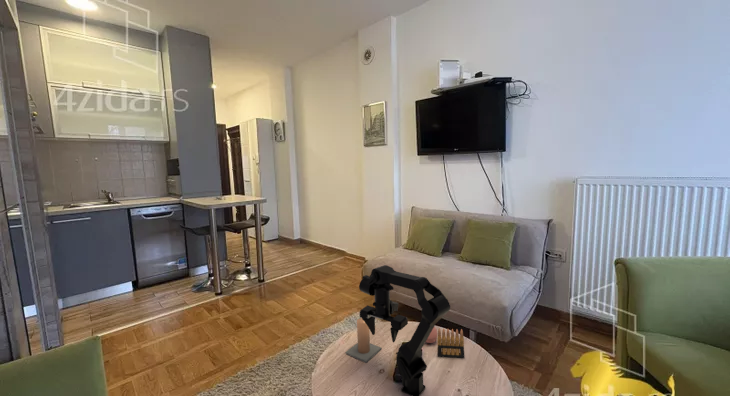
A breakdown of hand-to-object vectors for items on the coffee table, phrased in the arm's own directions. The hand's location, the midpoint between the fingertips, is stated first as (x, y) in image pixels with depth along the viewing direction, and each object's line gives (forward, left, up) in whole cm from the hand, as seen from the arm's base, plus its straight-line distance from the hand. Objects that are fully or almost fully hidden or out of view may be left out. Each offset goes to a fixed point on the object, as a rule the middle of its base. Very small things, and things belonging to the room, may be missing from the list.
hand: (383, 338), depth 115 cm
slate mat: (+14, -5, -13) cm, 20 cm away
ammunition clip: (-18, -22, -13) cm, 31 cm away
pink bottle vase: (-6, -27, -13) cm, 31 cm away
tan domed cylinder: (+14, -5, -12) cm, 19 cm away
